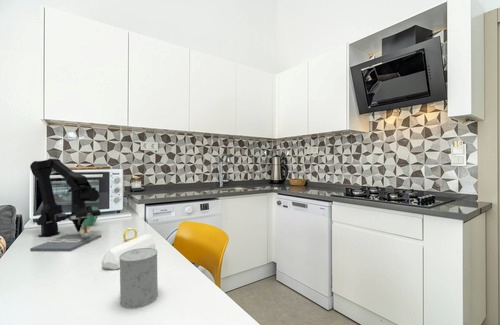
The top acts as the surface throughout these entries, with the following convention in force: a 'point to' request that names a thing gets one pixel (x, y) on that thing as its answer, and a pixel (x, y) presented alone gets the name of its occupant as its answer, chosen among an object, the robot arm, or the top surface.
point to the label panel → (65, 243)
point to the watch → (128, 230)
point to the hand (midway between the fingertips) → (78, 231)
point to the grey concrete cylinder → (138, 278)
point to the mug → (90, 218)
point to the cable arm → (85, 232)
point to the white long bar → (112, 255)
